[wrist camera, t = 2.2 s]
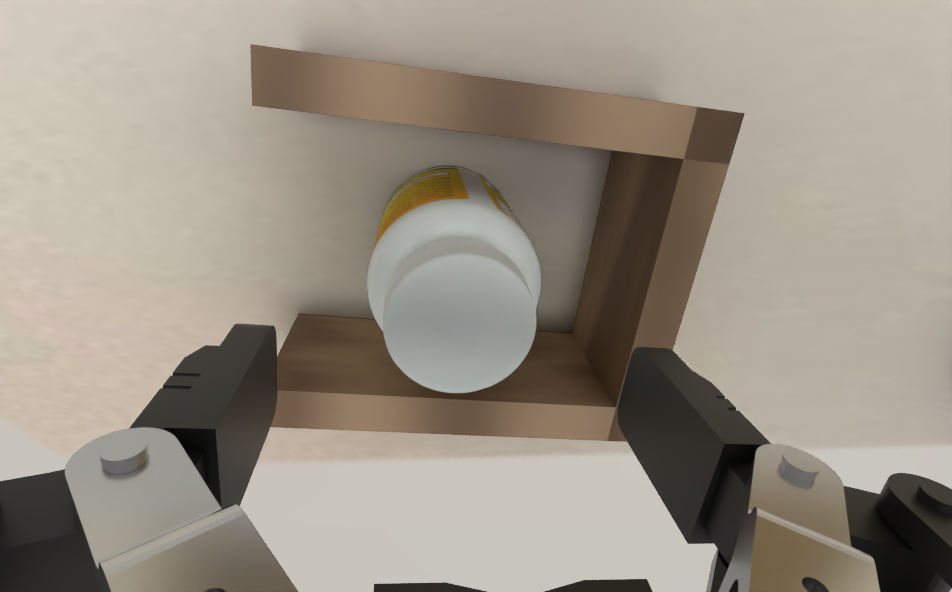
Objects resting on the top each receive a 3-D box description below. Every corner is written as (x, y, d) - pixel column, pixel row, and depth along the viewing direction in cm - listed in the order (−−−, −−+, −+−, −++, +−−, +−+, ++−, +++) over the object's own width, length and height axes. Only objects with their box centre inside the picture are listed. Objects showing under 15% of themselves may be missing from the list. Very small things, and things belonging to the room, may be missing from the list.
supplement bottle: (527, 189, 22) (600, 267, 13) (482, 301, 24) (520, 435, 15) (403, 144, 21) (392, 196, 12) (365, 265, 23) (331, 389, 14)
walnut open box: (659, 102, 21) (744, 113, 16) (595, 363, 26) (644, 442, 20) (298, 52, 19) (250, 44, 14) (298, 344, 24) (262, 426, 18)
